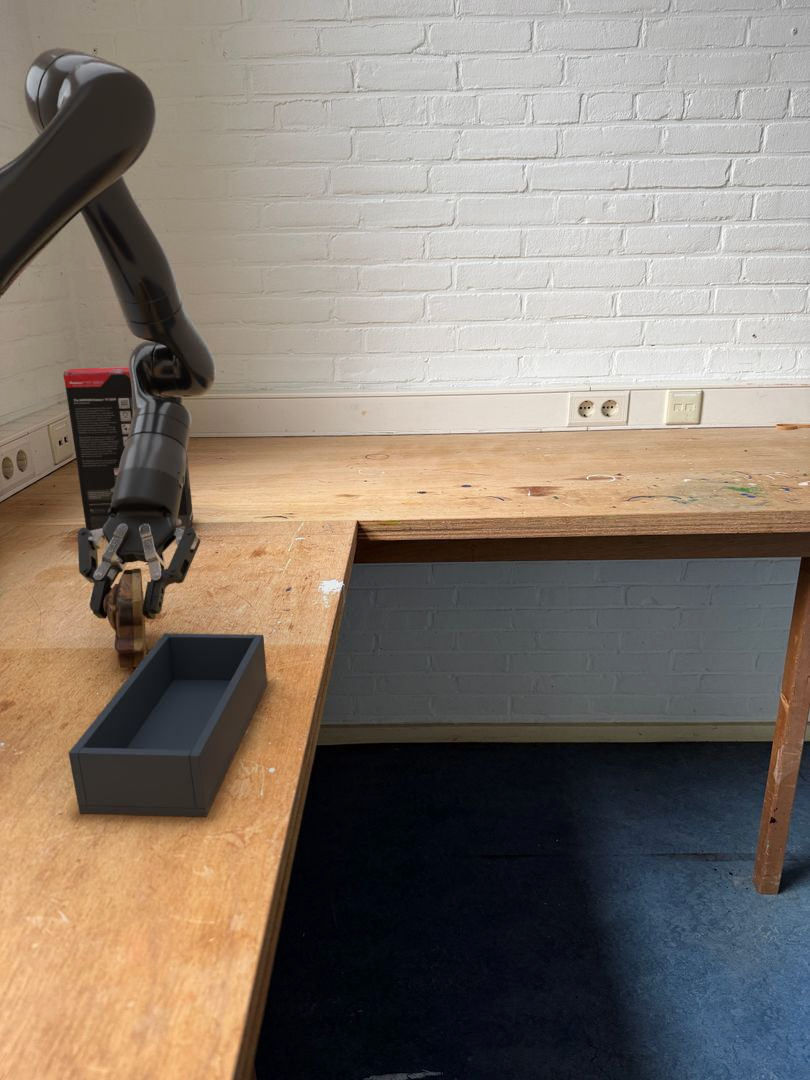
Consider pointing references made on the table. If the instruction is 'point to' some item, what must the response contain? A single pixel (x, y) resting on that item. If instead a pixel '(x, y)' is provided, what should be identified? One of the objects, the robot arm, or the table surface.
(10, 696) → the table surface
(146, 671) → the bin
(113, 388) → the graphics card box
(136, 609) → the wooden carving
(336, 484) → the table surface
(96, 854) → the table surface
